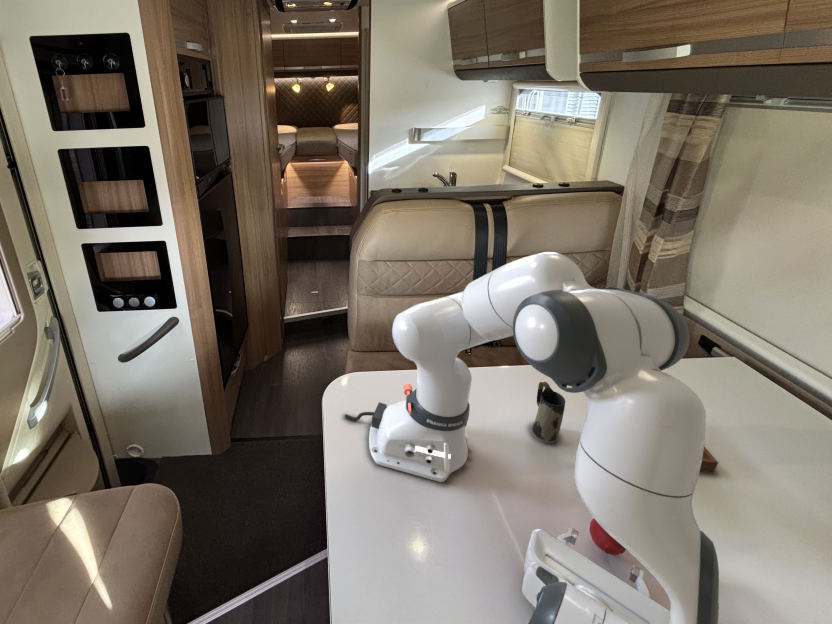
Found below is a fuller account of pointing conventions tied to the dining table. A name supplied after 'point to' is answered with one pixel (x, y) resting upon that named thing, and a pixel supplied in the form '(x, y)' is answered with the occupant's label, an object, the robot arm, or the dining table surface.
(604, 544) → the onion
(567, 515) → the dining table surface
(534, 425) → the mug
